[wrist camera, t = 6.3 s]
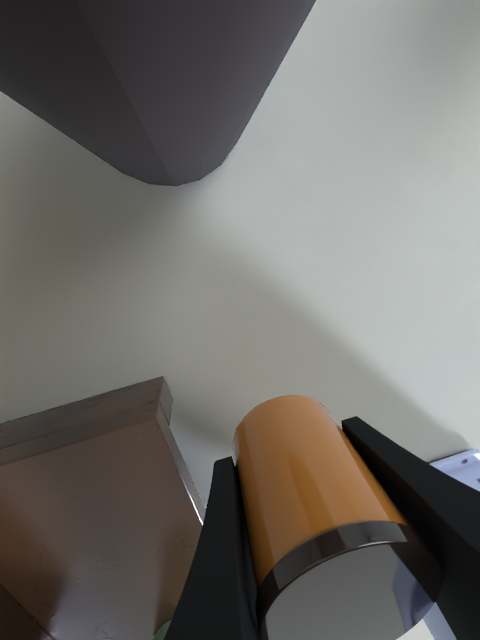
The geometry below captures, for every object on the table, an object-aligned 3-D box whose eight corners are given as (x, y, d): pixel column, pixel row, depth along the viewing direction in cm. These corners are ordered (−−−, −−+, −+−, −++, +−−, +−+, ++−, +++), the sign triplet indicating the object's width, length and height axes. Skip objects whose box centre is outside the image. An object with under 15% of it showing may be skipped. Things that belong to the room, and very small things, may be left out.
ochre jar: (329, 378, 11) (448, 515, 6) (341, 462, 13) (443, 627, 8) (216, 412, 11) (237, 589, 6) (244, 494, 12) (279, 688, 7)
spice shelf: (163, 375, 15) (145, 473, 9) (253, 597, 23) (273, 726, 17) (-45, 436, 14) (-206, 583, 9) (121, 644, 22) (95, 794, 17)
